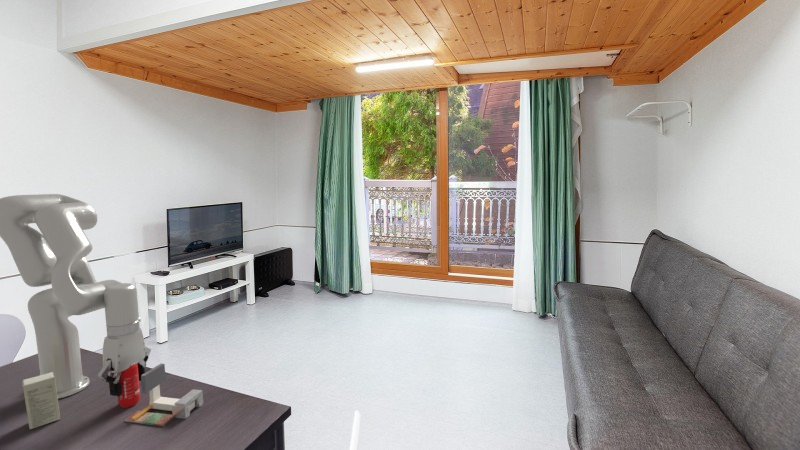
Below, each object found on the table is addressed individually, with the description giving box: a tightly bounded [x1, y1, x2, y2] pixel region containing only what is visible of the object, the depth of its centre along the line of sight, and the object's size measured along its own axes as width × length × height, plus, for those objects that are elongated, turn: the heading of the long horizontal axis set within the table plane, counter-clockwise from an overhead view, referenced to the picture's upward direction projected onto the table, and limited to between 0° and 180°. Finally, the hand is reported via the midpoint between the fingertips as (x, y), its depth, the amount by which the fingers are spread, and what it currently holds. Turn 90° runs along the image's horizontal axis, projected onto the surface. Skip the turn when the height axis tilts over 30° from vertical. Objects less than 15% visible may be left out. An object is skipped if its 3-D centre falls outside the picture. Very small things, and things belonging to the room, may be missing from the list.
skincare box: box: [22, 372, 61, 430], centre depth 104 cm, size 6×4×12 cm
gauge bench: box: [124, 389, 204, 427], centre depth 108 cm, size 15×11×4 cm
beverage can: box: [117, 363, 141, 409], centre depth 112 cm, size 5×5×12 cm
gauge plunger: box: [131, 363, 196, 420], centre depth 108 cm, size 12×11×11 cm
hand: (128, 387), depth 112 cm, fingers open, 7 cm apart
